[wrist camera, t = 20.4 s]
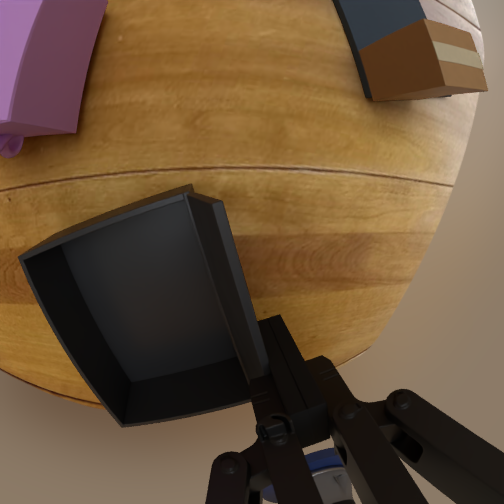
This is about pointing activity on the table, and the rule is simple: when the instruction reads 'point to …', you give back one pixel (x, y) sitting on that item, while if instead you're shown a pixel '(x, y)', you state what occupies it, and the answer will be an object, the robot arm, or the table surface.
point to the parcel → (423, 63)
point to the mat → (375, 24)
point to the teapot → (43, 66)
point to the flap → (229, 281)
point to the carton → (140, 311)
